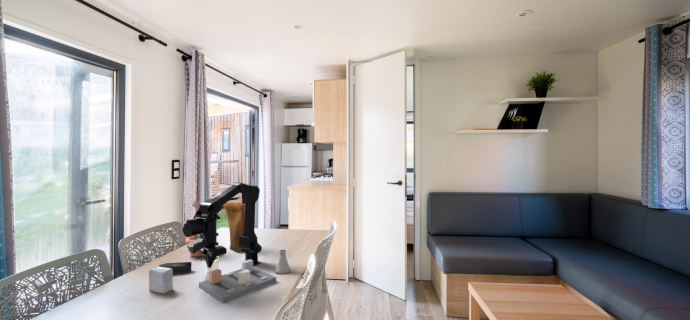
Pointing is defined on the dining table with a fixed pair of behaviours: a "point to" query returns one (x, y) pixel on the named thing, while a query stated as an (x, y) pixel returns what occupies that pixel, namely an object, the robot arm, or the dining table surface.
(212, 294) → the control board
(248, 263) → the grey small block
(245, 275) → the ivory cuboid
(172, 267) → the dark green block
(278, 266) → the flask
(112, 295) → the dining table surface
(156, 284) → the medicine box
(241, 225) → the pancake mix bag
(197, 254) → the decorative flower
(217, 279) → the salmon pink cuboid
